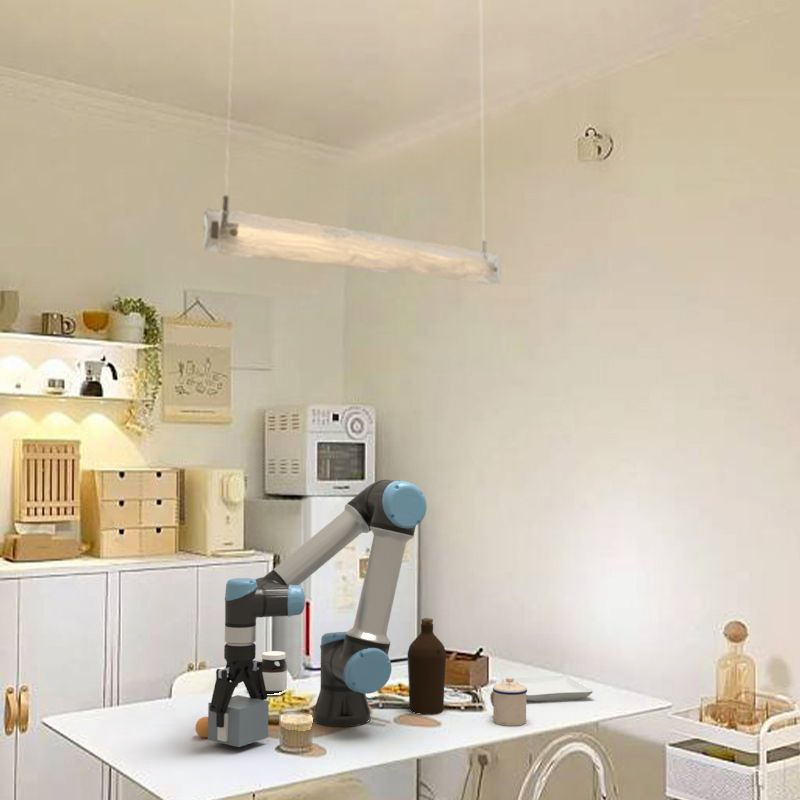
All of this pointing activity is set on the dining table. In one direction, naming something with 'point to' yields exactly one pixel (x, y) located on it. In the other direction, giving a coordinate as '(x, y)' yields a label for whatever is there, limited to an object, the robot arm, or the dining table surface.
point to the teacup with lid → (509, 703)
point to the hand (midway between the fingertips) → (238, 735)
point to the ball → (202, 727)
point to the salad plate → (553, 688)
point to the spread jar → (274, 671)
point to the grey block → (242, 721)
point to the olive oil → (426, 671)
